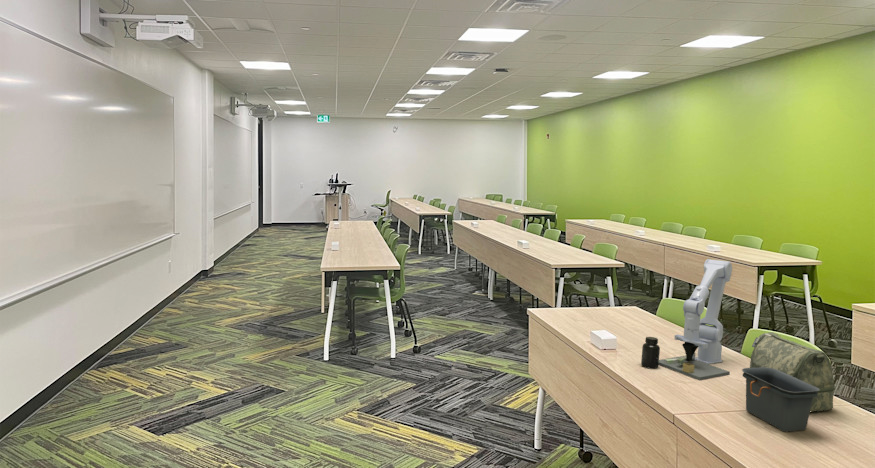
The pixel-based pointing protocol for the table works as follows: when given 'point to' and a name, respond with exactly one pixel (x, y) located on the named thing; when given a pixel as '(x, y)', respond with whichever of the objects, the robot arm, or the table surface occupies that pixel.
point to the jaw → (682, 360)
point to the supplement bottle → (650, 353)
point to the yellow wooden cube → (688, 367)
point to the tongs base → (700, 368)
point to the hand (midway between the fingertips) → (689, 360)
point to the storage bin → (778, 398)
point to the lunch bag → (796, 365)
